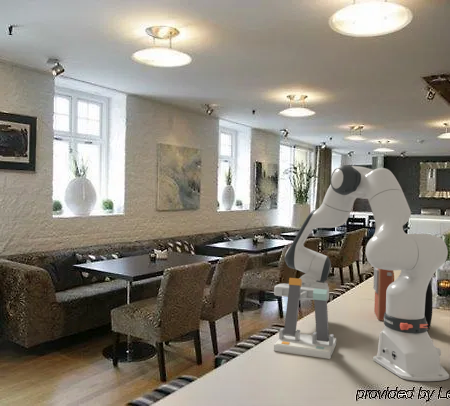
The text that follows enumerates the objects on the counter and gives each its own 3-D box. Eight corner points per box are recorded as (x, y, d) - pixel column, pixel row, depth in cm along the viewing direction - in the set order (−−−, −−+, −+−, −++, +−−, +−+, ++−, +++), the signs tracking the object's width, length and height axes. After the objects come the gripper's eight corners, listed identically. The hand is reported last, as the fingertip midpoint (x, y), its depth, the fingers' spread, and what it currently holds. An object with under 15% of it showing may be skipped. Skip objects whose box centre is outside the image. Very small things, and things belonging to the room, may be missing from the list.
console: (284, 336, 160) (285, 322, 160) (336, 343, 154) (336, 329, 153) (273, 350, 146) (274, 335, 146) (329, 359, 140) (330, 342, 139)
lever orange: (284, 335, 153) (290, 279, 160) (296, 337, 152) (302, 280, 159) (282, 334, 151) (289, 277, 158) (294, 336, 150) (300, 278, 157)
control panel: (388, 312, 195) (394, 322, 180) (371, 311, 196) (376, 321, 181) (390, 262, 194) (395, 268, 179) (372, 262, 195) (377, 267, 181)
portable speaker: (405, 325, 176) (406, 275, 176) (431, 328, 172) (433, 277, 172) (404, 331, 168) (405, 279, 168) (432, 335, 165) (433, 281, 164)
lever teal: (317, 336, 150) (314, 288, 141) (329, 338, 148) (327, 289, 140) (316, 341, 148) (312, 293, 139) (328, 343, 146) (326, 294, 138)
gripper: (278, 278, 178) (269, 284, 165) (331, 282, 171) (326, 290, 158) (278, 294, 178) (269, 302, 165) (331, 299, 171) (325, 308, 158)
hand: (297, 296), depth 162 cm, fingers closed
